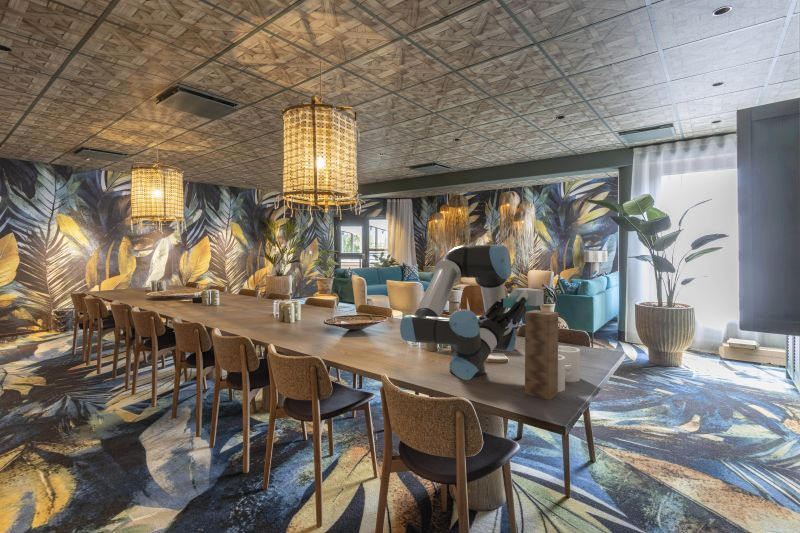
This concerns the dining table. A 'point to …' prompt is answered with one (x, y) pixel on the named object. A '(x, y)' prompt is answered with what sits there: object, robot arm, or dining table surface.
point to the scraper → (534, 299)
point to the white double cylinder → (568, 366)
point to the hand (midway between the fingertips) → (521, 292)
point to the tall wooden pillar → (541, 354)
